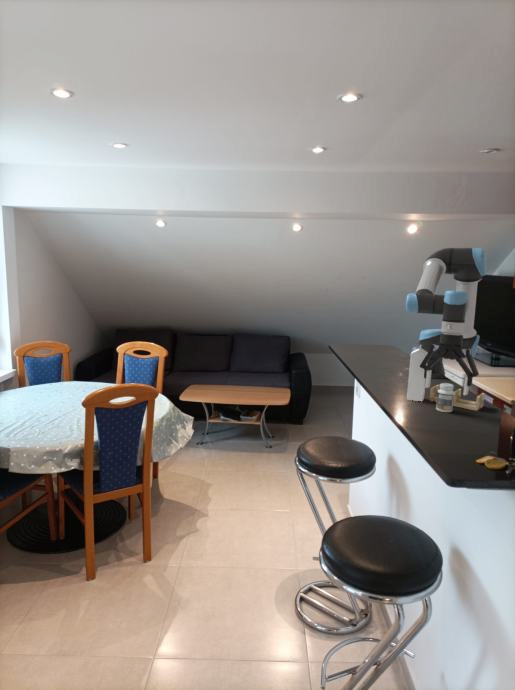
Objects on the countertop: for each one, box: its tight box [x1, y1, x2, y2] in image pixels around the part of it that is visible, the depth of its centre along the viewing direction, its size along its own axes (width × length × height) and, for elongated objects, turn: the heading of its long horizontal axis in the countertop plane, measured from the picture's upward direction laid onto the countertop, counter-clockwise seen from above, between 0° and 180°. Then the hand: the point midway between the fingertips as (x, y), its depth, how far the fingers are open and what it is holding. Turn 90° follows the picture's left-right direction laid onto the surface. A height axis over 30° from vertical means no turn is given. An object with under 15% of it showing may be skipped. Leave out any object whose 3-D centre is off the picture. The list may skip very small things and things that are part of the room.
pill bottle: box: [435, 382, 454, 413], centre depth 166 cm, size 6×6×10 cm
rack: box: [428, 384, 485, 411], centre depth 176 cm, size 8×18×5 cm, turn 49°
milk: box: [406, 345, 428, 403], centre depth 179 cm, size 6×6×22 cm
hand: (446, 390), depth 165 cm, fingers open, 13 cm apart
